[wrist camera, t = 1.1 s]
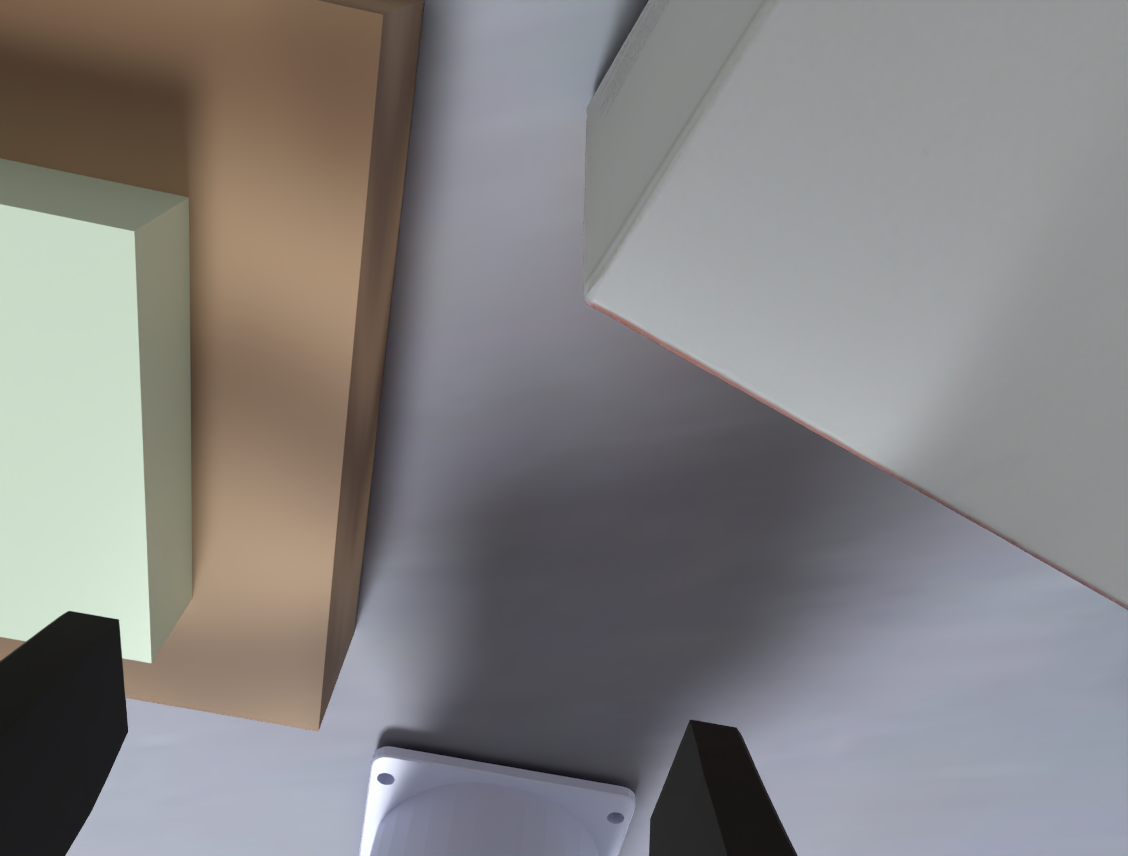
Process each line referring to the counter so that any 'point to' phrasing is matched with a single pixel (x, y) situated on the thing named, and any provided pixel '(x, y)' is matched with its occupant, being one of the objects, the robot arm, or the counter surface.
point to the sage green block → (94, 405)
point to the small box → (890, 239)
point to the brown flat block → (249, 294)
